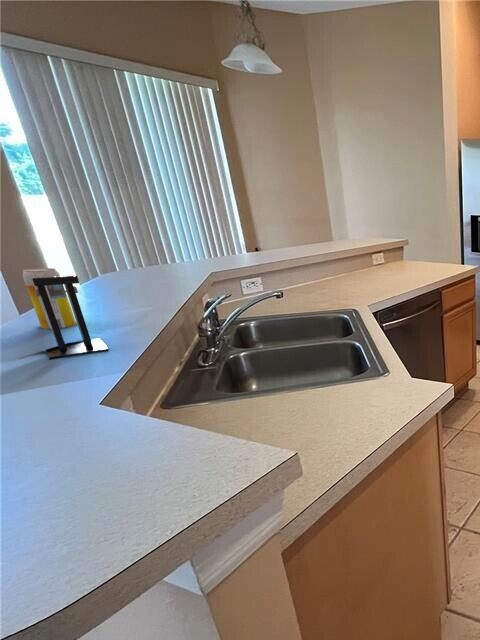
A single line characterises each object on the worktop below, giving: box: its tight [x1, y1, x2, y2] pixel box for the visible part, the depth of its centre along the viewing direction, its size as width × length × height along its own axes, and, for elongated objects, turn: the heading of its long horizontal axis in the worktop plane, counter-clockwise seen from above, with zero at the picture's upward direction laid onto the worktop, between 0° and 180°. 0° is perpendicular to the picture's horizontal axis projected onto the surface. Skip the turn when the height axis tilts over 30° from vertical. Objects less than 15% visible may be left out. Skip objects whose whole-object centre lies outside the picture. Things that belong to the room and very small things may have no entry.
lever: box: [32, 275, 80, 299], centre depth 86 cm, size 12×6×2 cm, turn 49°
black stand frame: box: [34, 284, 110, 361], centre depth 91 cm, size 11×9×15 cm
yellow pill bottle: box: [22, 267, 77, 330], centre depth 105 cm, size 6×6×15 cm
